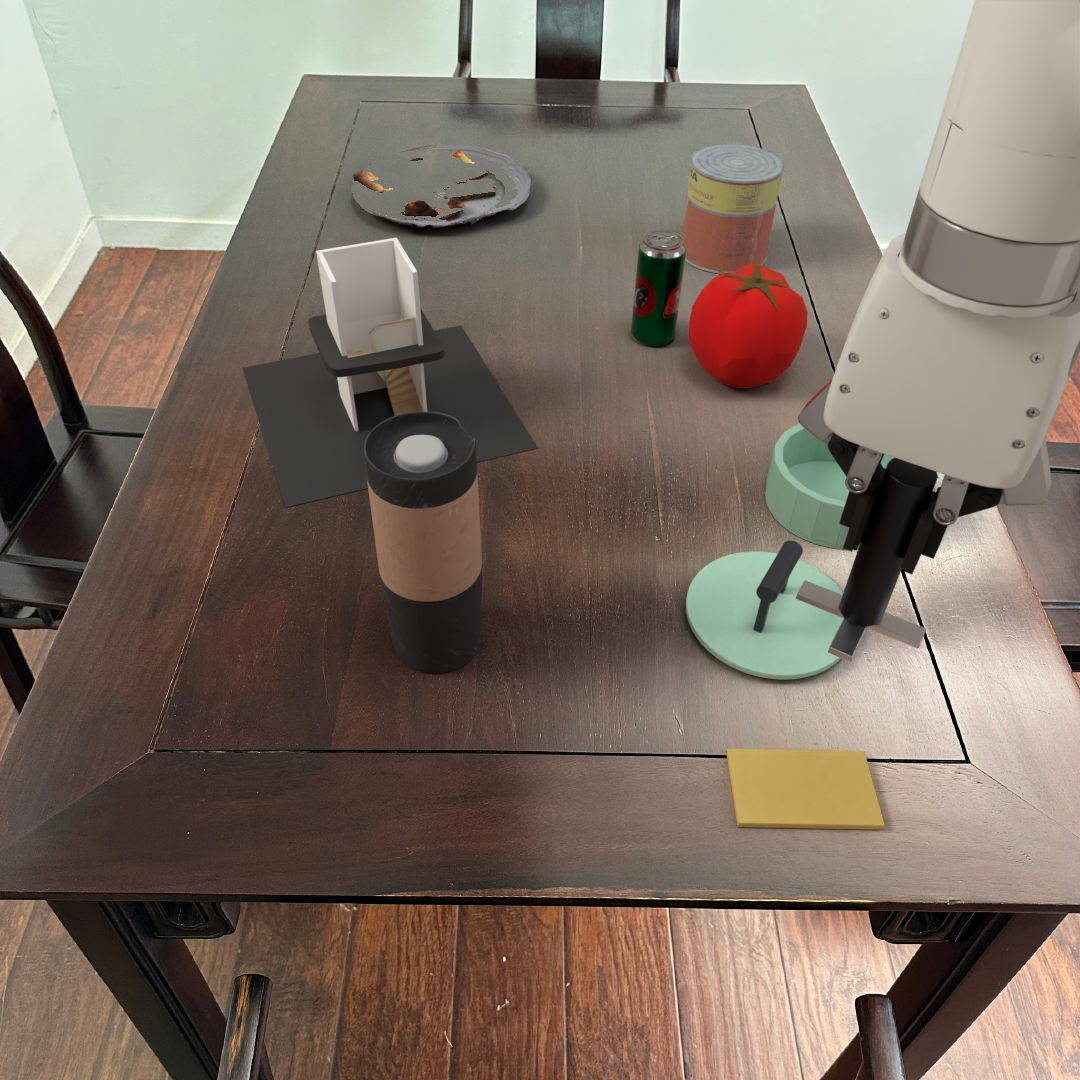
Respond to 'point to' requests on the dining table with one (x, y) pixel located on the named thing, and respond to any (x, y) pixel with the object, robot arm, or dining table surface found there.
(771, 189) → the canned food
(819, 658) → the lid
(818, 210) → the dining table surface
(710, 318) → the tomato
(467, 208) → the food plate
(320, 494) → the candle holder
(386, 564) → the travel mug
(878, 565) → the black and grey rod
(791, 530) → the bowl
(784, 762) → the mat
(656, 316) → the soda can
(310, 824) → the dining table surface
